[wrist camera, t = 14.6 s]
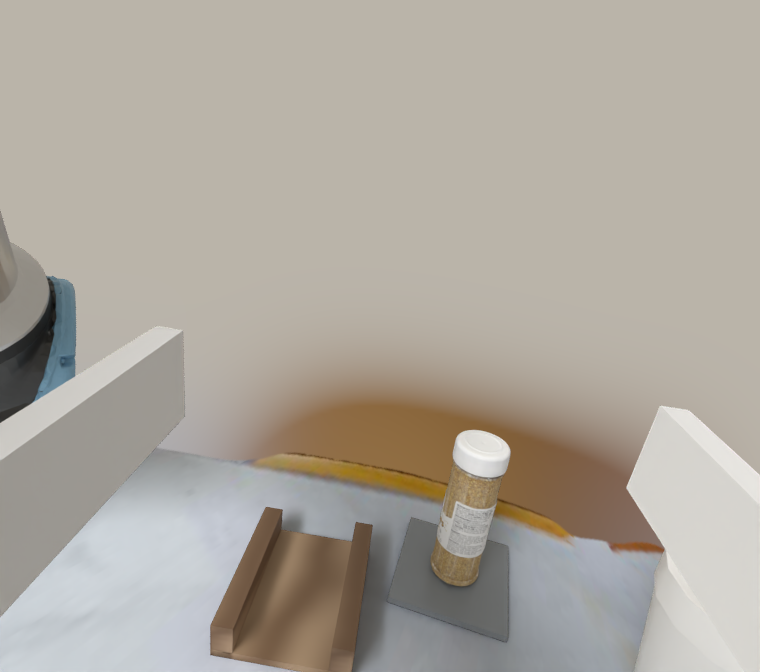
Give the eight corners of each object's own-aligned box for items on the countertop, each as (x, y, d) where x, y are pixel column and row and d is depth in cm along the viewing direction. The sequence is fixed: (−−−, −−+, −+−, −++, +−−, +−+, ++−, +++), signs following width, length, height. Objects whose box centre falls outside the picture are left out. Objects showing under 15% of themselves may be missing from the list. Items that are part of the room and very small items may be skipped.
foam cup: (721, 684, 36) (795, 558, 31) (789, 839, 27) (904, 698, 23) (594, 643, 38) (647, 519, 33) (621, 778, 29) (696, 635, 25)
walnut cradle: (210, 655, 33) (210, 625, 32) (264, 531, 44) (265, 506, 43) (350, 680, 33) (354, 651, 31) (368, 549, 44) (372, 524, 43)
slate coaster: (386, 602, 39) (387, 596, 39) (410, 521, 48) (411, 517, 48) (506, 642, 37) (507, 637, 37) (506, 550, 46) (508, 546, 46)
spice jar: (434, 544, 45) (460, 422, 41) (480, 559, 44) (512, 436, 39) (424, 579, 40) (452, 447, 36) (476, 597, 39) (511, 464, 35)
